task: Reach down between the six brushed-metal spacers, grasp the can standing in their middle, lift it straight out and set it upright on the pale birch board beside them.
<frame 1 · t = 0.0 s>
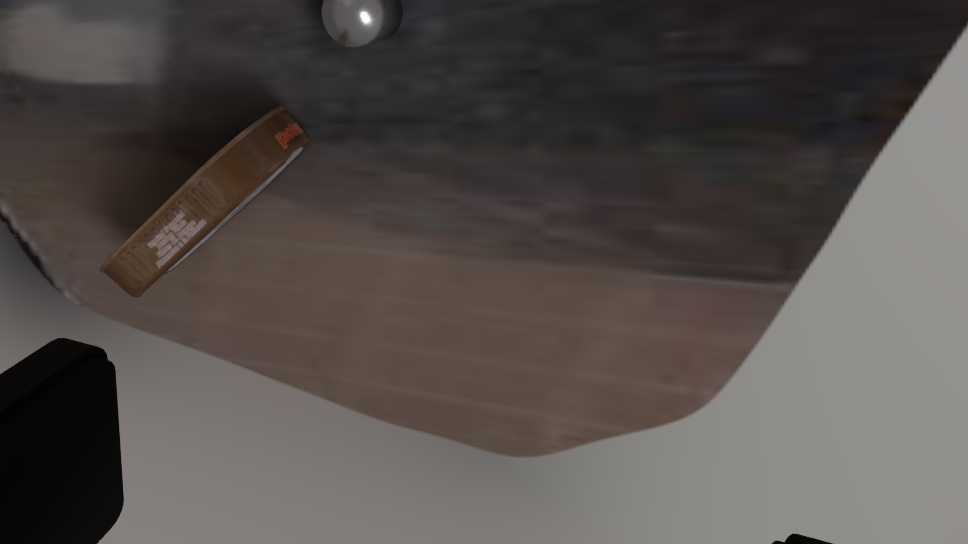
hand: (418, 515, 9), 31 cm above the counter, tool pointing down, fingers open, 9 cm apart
tin: (244, 184, 43), on the counter
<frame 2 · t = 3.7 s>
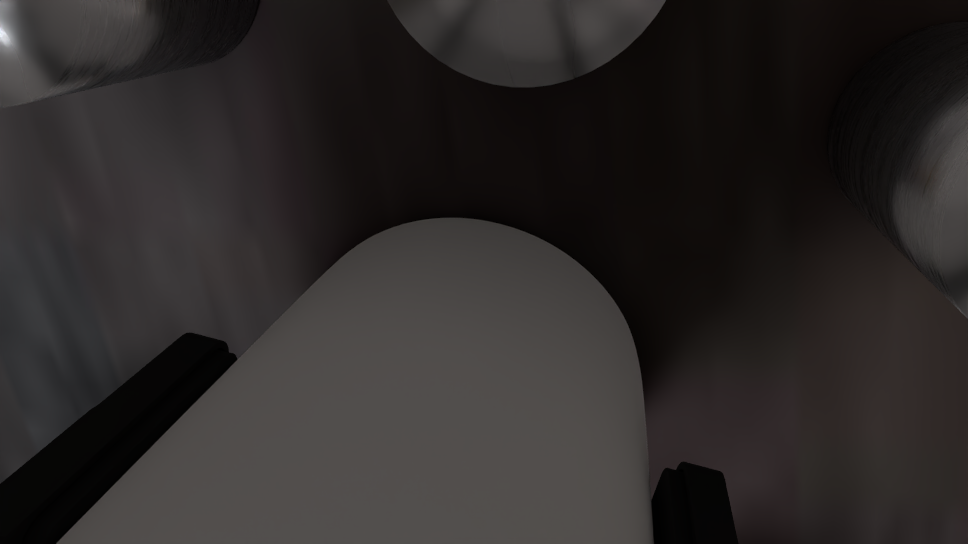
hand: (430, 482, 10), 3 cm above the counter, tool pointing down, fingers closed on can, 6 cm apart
can: (471, 364, 13), on the counter, touching gripper
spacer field: (470, 370, 13), on the counter
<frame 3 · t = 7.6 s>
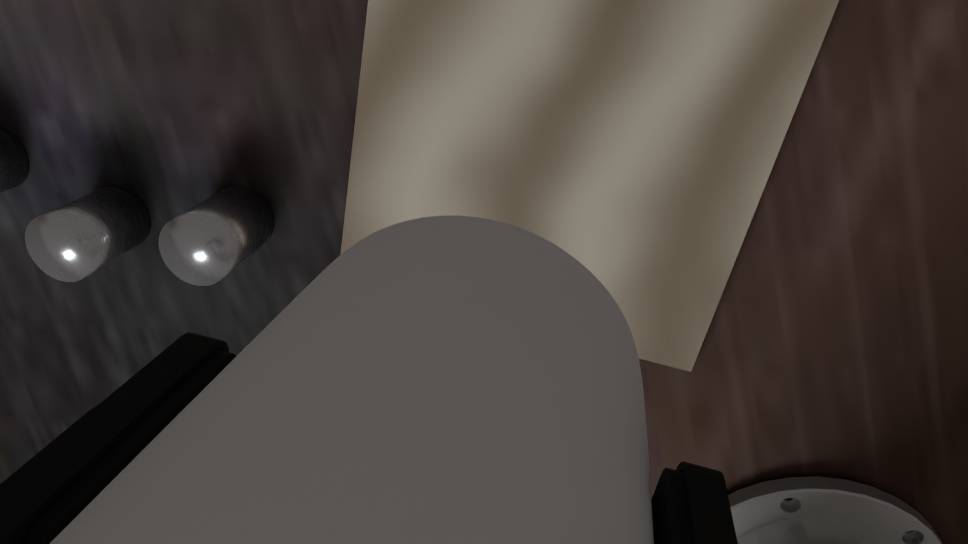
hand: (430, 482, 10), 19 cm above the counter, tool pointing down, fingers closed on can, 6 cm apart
board: (555, 146, 27), on the counter
can: (470, 362, 13), point 16 cm above the counter, touching gripper
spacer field: (112, 53, 29), on the counter
when the fingers open (5 cm above the counter, at t = 11.4 s): can drops 1 cm, resting on board.
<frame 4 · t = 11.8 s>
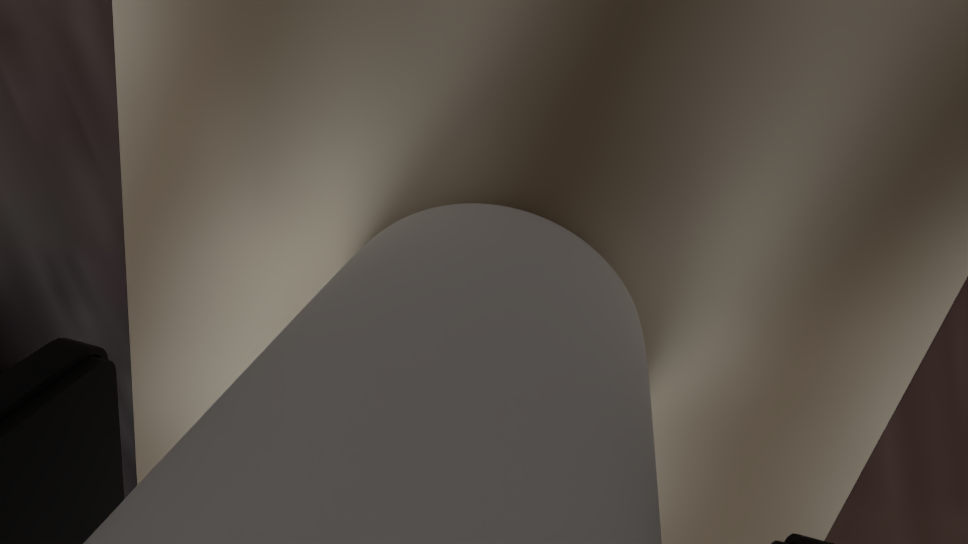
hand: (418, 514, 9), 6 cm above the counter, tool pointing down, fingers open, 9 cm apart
board: (489, 322, 15), on the counter
can: (488, 340, 14), point 1 cm above the counter, touching board
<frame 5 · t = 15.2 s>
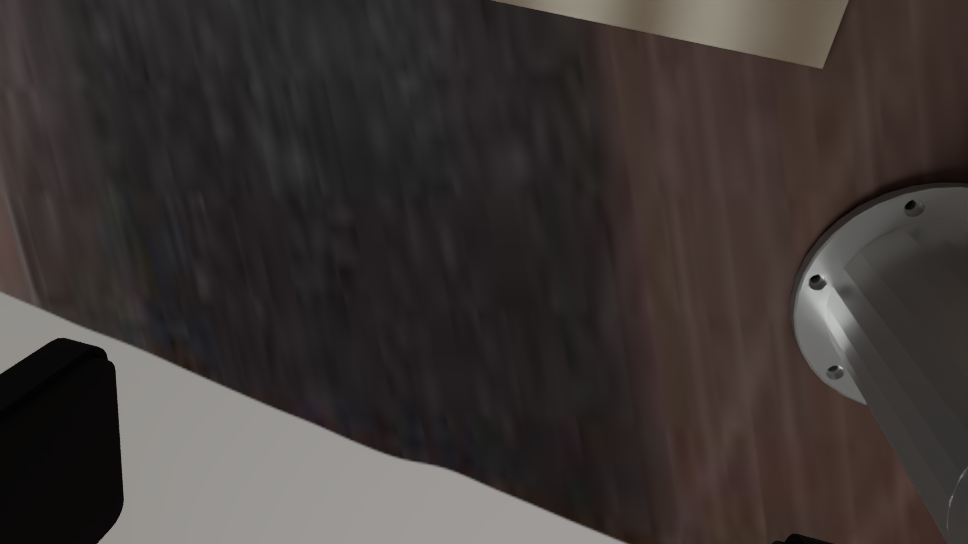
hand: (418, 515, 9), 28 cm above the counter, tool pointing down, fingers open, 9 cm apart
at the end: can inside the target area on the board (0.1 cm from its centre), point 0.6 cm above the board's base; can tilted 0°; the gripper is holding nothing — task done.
